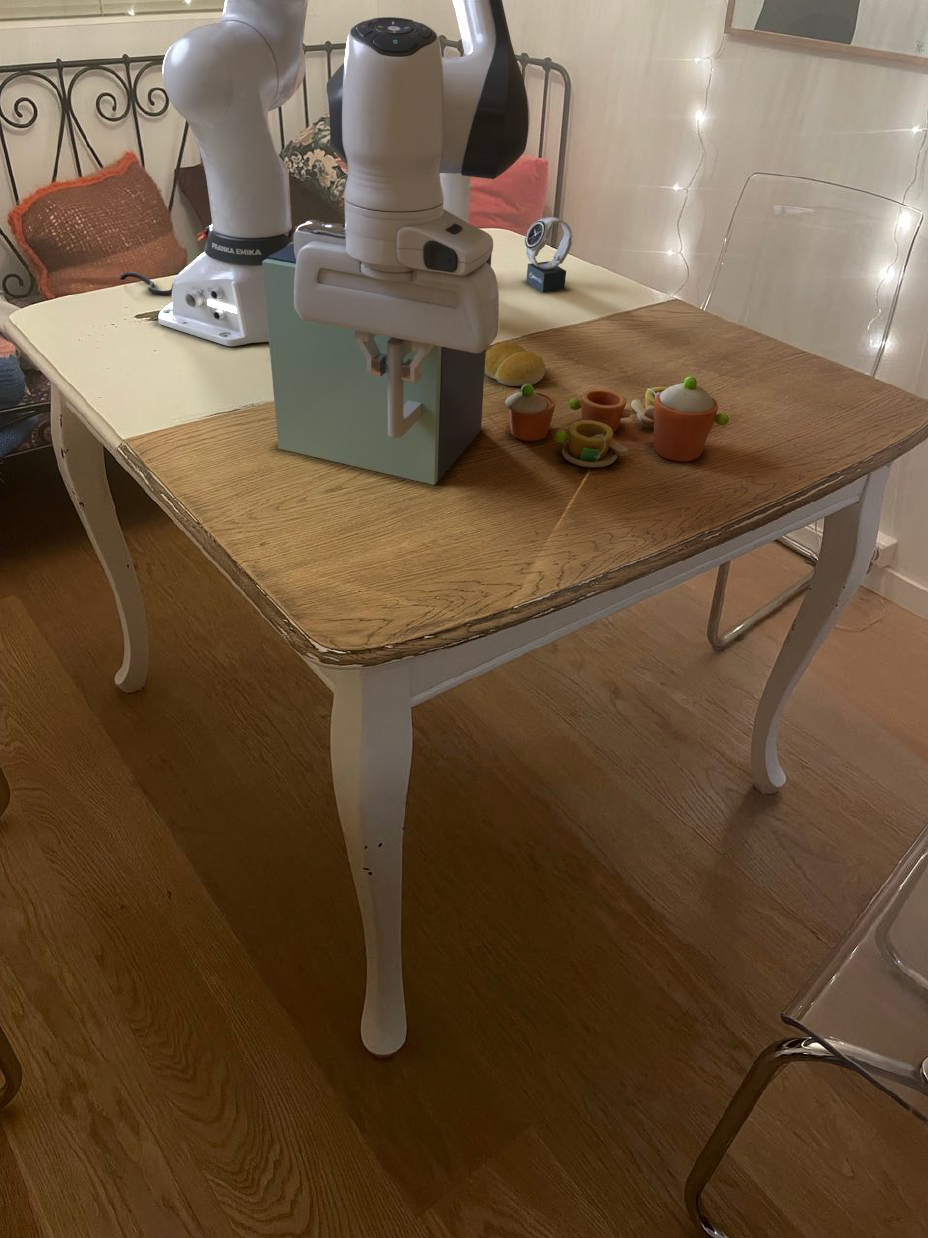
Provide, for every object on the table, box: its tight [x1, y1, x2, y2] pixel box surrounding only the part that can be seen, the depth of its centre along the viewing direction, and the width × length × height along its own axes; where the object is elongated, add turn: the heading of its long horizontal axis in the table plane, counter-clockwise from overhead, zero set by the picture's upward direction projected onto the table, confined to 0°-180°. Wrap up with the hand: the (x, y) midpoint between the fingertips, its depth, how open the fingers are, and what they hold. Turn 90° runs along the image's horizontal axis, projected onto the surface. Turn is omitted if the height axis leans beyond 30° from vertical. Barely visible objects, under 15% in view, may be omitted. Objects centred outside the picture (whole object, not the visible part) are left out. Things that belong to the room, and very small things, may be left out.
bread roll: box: [484, 341, 546, 387], centre depth 130 cm, size 8×9×4 cm
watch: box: [524, 216, 573, 293], centre depth 158 cm, size 6×8×11 cm
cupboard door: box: [262, 259, 442, 486], centre depth 100 cm, size 7×20×22 cm, turn 69°
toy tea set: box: [504, 376, 730, 468], centre depth 113 cm, size 26×16×10 cm, turn 104°
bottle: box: [440, 173, 472, 224], centre depth 151 cm, size 8×8×30 cm
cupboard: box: [268, 243, 493, 482], centre depth 108 cm, size 14×20×22 cm
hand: (394, 376), depth 94 cm, fingers closed
